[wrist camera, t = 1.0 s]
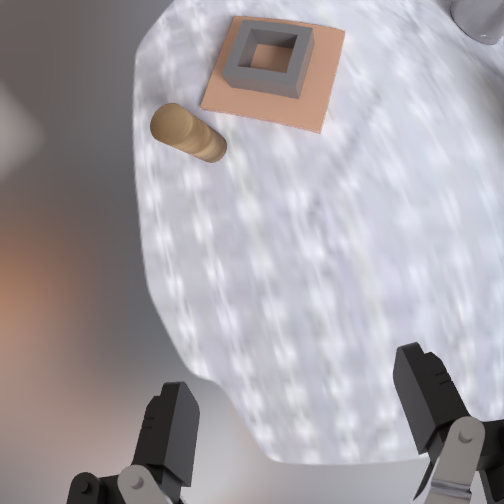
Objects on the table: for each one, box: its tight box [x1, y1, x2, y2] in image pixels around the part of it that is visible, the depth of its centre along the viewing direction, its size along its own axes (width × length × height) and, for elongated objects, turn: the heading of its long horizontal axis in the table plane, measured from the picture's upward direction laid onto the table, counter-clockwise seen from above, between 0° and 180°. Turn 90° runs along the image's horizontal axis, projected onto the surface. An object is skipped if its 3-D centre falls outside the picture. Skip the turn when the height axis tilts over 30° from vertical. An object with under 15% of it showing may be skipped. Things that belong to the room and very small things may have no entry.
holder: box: [200, 16, 345, 134], centre depth 32 cm, size 16×16×5 cm
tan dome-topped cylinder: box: [150, 103, 227, 163], centre depth 32 cm, size 4×4×12 cm
